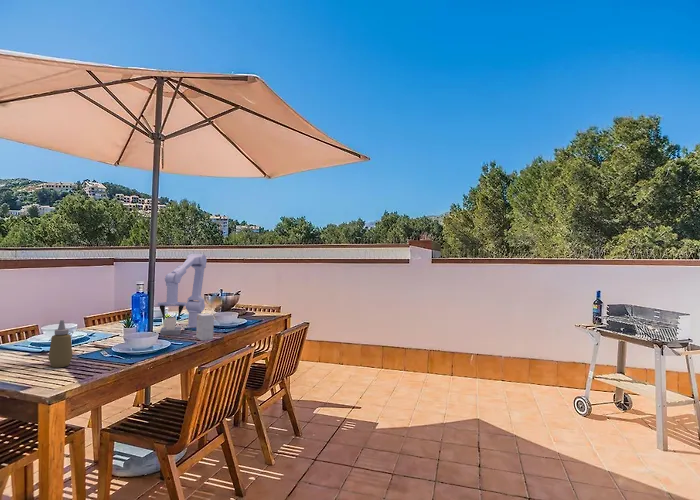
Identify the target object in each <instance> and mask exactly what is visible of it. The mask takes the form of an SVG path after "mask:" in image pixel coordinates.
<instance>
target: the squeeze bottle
mask: <svg viewBox="0 0 700 500" xmlns="http://www.w3.org/2000/svg"><path fill="white" fill-rule="evenodd" d="M69 330H70V329H68V328H66V325H65V320H64V319H62V320H60V321H59V324H58V328H57V329H54V335H52V336H51V339H50V346H49V351H48V360H49V363H50V367H51V368H57V369H58V368H65V367H68V366H69V365H70V363H71V361H72V359H73V346H72V335H70V334H69V332H70V331H69Z"/></svg>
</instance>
